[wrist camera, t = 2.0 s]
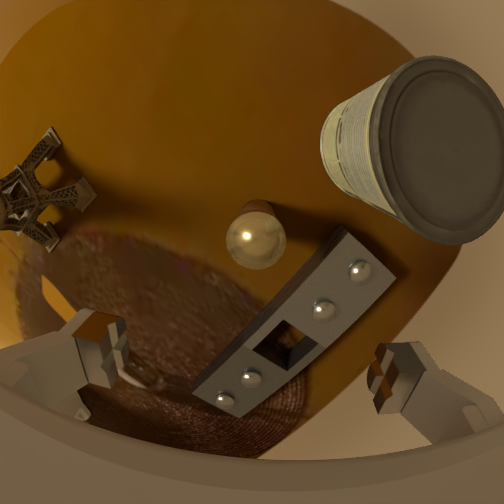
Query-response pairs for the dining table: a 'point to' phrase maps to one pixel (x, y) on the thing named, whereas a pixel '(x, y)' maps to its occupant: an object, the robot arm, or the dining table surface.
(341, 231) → the grey peg board
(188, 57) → the dining table surface
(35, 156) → the eiffel tower
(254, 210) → the pin
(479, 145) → the coffee can
